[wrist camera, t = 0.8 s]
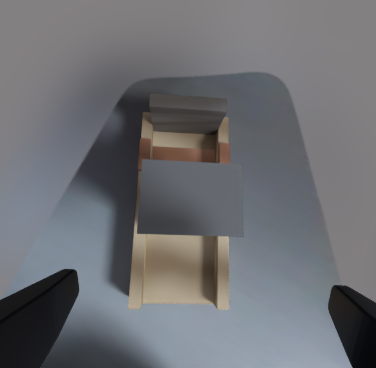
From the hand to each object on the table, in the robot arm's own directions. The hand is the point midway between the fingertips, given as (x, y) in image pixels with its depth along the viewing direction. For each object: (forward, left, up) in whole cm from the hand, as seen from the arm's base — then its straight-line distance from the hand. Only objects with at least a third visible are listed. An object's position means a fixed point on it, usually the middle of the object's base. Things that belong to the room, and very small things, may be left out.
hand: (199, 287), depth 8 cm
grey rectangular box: (+4, 0, -14) cm, 14 cm away
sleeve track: (+4, 0, -16) cm, 16 cm away
